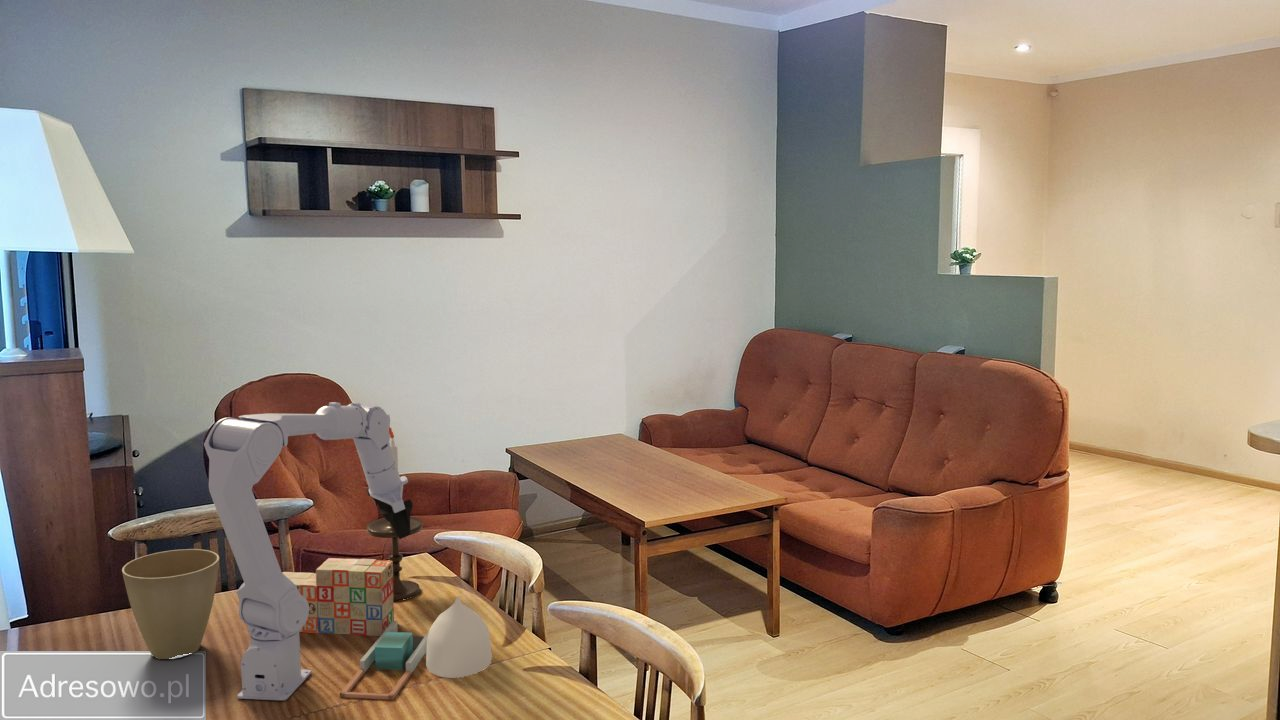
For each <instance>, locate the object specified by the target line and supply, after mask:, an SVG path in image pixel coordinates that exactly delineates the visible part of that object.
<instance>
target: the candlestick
mask: <svg viewBox="0 0 1280 720" xmlns="http://www.w3.org/2000/svg"><path fill="white" fill-rule="evenodd" d="M389 434H390V441H389V443H390V446H391V449H392V453H393V456H394V459H395V463H396V466H397V469H398V470H399V463H398V462H399V459H398V457H399V456H398V445H396V444H395V440H394V438H395V434H394V432H393V431H392V427H390V426H389ZM422 529H423V521H422V519H420V518H417V517H414V516H410V535H409V536H412V535H414V534H417V533H419V532H421V531H422ZM366 533H367V535H369V536H372V537H375V538H382V539H383V538H384V539H391V554H390V555H388V561H393V601H394V602H400V601H399V600H403V599H407V598H410V597H413V596H415V595H416V594H417V593H418V592H419V593H420V591H419V589H420V584H419V583H417V582H416V581H412V580H407V579H405V580H403V579H402V580H401V576H400V575H401V573H400V572H401V571H403V566H401V564H400V563H401V562H402V560H403V559H404V556H403V554H402V553H400V543H399V540H400V539H399V538H398V536H397V535H396V533H395V531H394V529H393V527H392V525H391V524H390V522H389V521H387V520H386V519H385V517H380V518H377V519H374V520H372V521H369V523H367V524H366ZM416 596H417V595H416ZM416 596H415V597H416ZM413 598H414V597H413ZM410 599H411V598H410ZM407 600H408V599H407ZM403 601H404V600H403Z"/></svg>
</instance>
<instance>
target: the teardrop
mask: <svg viewBox="0 0 1280 720" xmlns="http://www.w3.org/2000/svg"><path fill="white" fill-rule="evenodd" d="M429 630H430V631H429ZM429 630H428V631H429V634H428V637H427V652H426V653H425V655H426V656H425V657H426V658H425V667H426V668H427V671H428V672H429V673H430V674H433V675H435V676H438V677H439V678H448V679H457V678H459V677H462V678H465V677H464V676H466V677H469V676H468V675H471V676H473V675H472V674H476V673H477V672H479V671H481V670H483V669H485V668H487V667H488V666H489V664H490V663H491V664H492V662H491V660H492V661H493V654H492V645H491V644H492V643H491V642H492V641H491V633H490V630H489V627H488V625H487V624H486V623H485V621H484V620H483V618H482V617H481V616H480V615H479V614H478V613H477V612H475V611H474V610H473V609H471V608H470V607H468V606H467V605H465V604H464V603H463V602H462V601H461V598H460V597H459V596H458V595H457V597H456V598H455V600H454V602H453V604H452V605H450V606H449V607H448V608H447V609H446V610H444V611H443V612H441V613H440V614H439V615H438V616H437V618H436V619H435V621H434V622H433V623H432V624H431V626H430V628H429ZM489 667H490V666H489ZM489 667H488V668H489ZM488 668H487V669H488ZM476 675H477V674H476ZM456 677H457V678H456ZM459 679H460V678H459Z"/></svg>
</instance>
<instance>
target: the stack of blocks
mask: <svg viewBox="0 0 1280 720" xmlns="http://www.w3.org/2000/svg"><path fill="white" fill-rule="evenodd" d="M281 572H282V571H281ZM282 573H283V574H284V575H285V576H286V577H287V578H288V579H290V580H291V581H292V582H293V583H294V584H295V585H296V586H297V589H298V591H299V593H300V594H301V595H302V596H304V597H305V598H306V599H307V601H308V604H309V614H308V618H307V621H306V623H305V624H304V626H303V627H302V630H301V631H300V632H299V633H306V634H309V633H310V634H338V635H354V636H355V635H356V636H358V635H359V636H375V637H376V636H377V637H378V636H379V637H380V636H381V635H382V634H383V632H384V631H385V630H386V629H387V628H388V627H389V625H390V624H391V623H392V622H393V621H395V620H394V619H395V617H394V616H395V614H394V613H395V612H394V609H395V608H394V602H393V561H390V560H383V559H382V560H381V559H375V558H333V557H328V558H326V560H325V561H324V562H322V564H321V565H320V566H318V567H317V568H316V569H315V573H314V572H295V571H292V572H291V571H283V572H282Z"/></svg>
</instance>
